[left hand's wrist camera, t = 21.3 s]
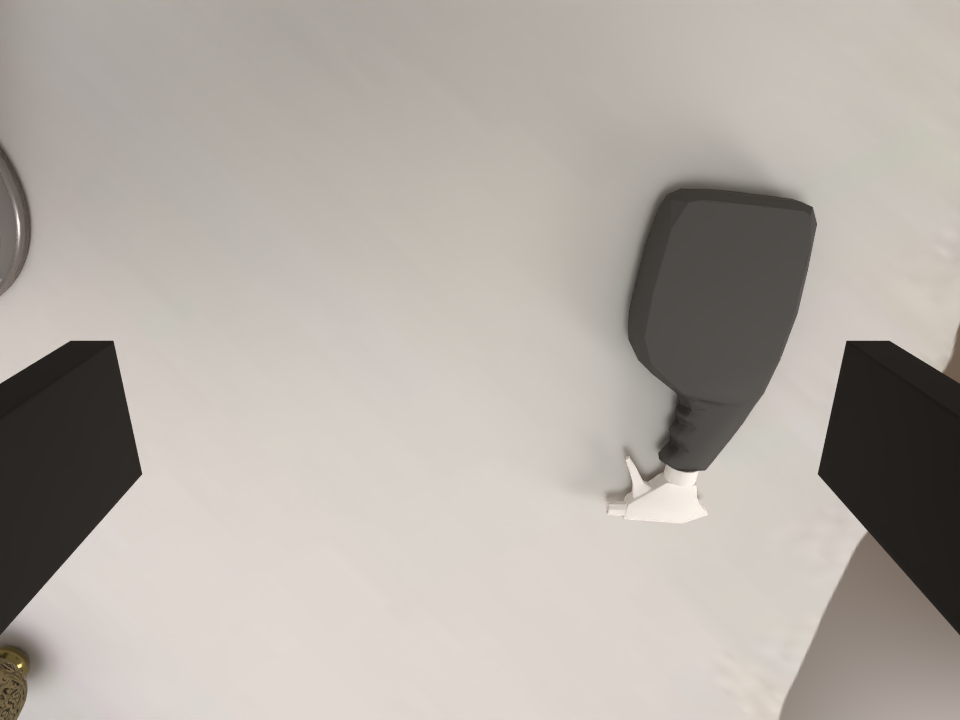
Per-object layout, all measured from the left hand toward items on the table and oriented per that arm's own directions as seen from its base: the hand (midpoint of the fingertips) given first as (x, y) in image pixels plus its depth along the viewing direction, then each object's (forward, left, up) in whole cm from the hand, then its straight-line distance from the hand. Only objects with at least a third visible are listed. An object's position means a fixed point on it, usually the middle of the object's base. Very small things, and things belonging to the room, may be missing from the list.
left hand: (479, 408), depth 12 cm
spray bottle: (+16, +12, -33) cm, 39 cm away
